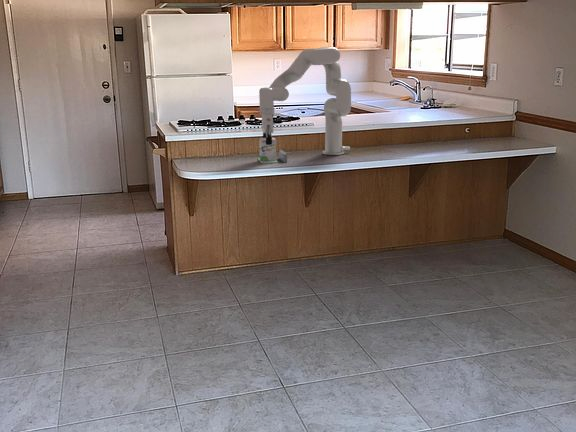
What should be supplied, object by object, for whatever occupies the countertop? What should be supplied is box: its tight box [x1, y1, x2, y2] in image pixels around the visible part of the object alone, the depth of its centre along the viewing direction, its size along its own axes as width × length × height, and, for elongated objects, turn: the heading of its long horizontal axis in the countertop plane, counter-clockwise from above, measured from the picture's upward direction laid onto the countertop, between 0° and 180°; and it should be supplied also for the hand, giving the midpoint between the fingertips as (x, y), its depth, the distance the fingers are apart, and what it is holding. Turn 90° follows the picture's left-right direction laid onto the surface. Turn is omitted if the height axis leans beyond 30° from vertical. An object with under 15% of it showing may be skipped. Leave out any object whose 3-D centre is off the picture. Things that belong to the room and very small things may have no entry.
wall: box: [278, 149, 288, 163], centre depth 331 cm, size 2×13×4 cm, turn 12°
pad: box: [257, 157, 279, 164], centre depth 330 cm, size 9×13×1 cm
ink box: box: [258, 137, 277, 161], centre depth 328 cm, size 8×5×12 cm, turn 102°
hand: (267, 143), depth 327 cm, fingers open, 9 cm apart
